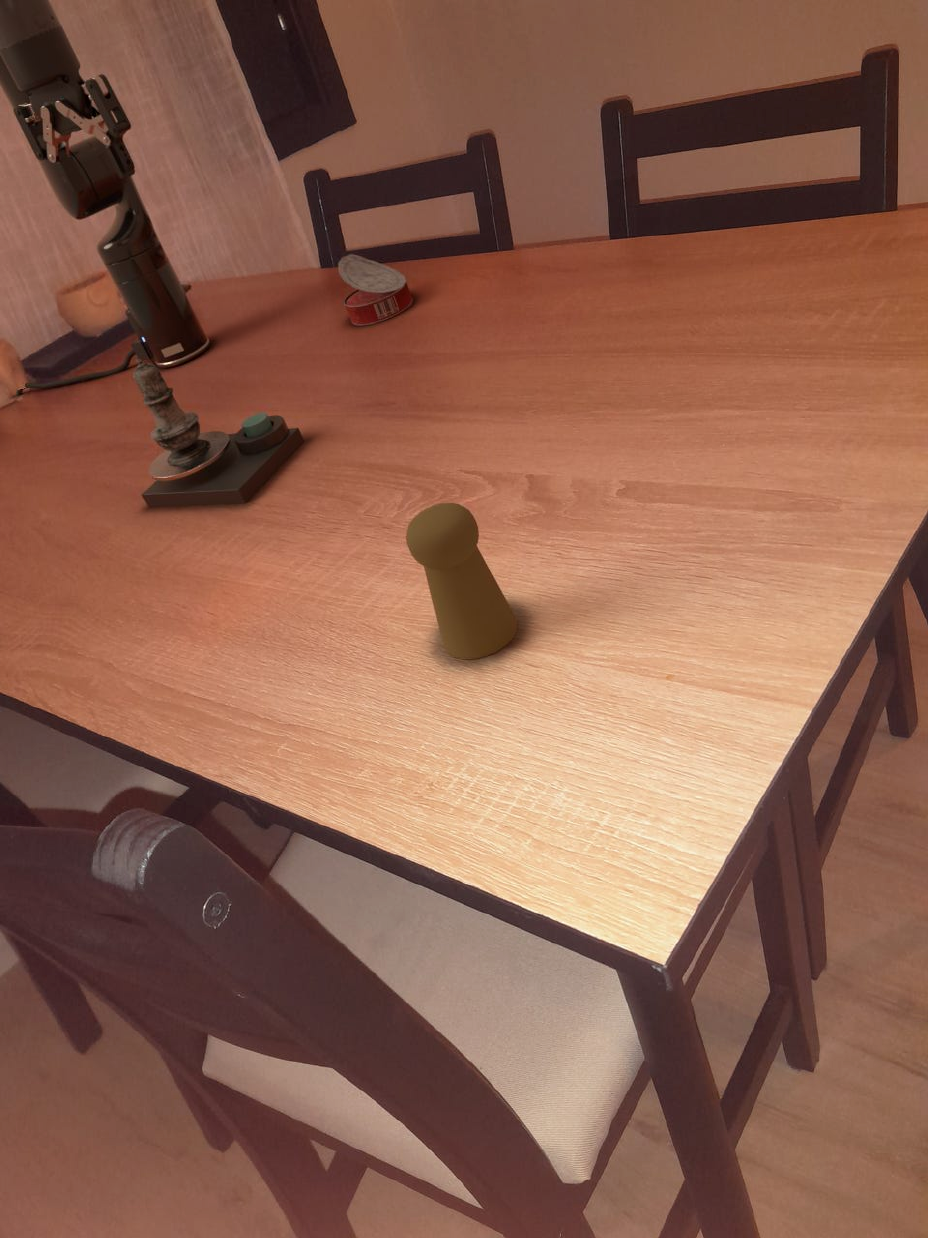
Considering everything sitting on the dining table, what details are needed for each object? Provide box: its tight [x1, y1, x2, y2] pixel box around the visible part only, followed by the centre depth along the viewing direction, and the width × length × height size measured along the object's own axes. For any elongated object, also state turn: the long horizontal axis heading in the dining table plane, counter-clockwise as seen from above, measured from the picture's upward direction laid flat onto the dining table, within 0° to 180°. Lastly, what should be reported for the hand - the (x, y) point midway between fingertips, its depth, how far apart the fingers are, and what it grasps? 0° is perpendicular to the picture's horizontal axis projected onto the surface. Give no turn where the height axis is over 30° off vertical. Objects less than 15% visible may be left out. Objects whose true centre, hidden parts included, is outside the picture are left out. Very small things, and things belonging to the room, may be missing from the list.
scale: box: [140, 414, 305, 509], centre depth 111 cm, size 15×14×4 cm
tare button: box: [241, 412, 272, 437], centre depth 110 cm, size 3×3×2 cm
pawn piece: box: [405, 502, 519, 660], centre depth 70 cm, size 6×6×11 cm
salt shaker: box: [132, 357, 210, 465], centre depth 106 cm, size 6×6×12 cm
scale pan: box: [148, 430, 230, 481], centre depth 110 cm, size 10×10×1 cm
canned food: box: [337, 253, 414, 327], centre depth 141 cm, size 11×10×10 cm
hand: (104, 183), depth 115 cm, fingers open, 8 cm apart
